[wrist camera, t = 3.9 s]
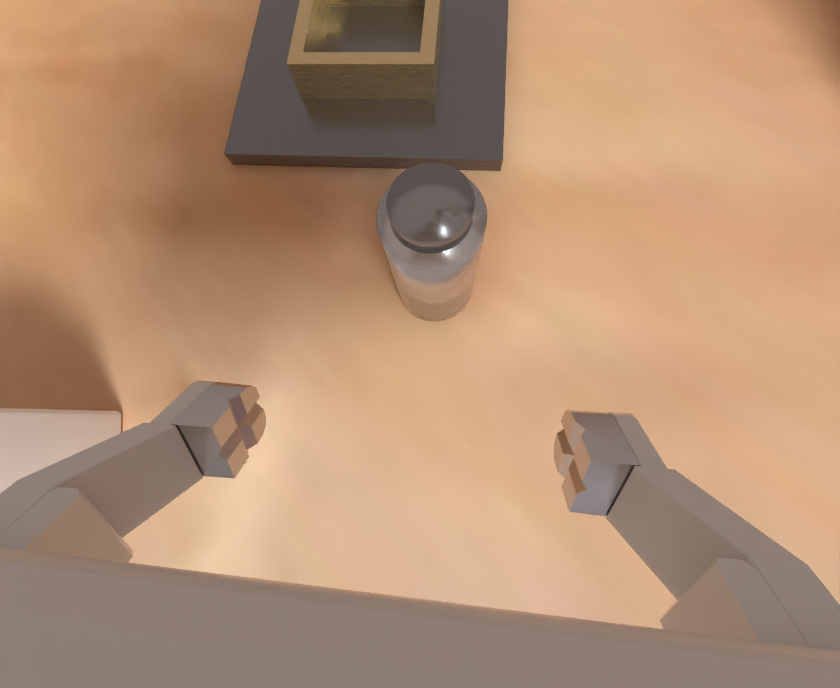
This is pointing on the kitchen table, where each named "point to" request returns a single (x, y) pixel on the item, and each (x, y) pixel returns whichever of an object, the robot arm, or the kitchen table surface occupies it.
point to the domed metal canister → (432, 238)
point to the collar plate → (374, 84)
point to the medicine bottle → (48, 437)
